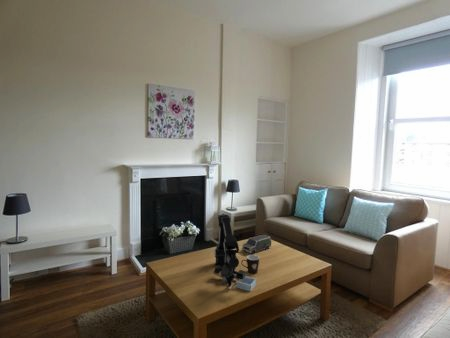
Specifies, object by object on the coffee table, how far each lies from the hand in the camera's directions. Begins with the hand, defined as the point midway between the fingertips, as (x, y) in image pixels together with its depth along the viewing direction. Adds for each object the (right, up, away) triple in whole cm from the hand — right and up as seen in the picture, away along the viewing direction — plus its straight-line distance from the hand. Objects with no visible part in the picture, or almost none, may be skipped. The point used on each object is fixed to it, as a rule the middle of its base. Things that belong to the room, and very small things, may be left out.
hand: (229, 285), depth 162 cm
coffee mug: (+14, 0, +23) cm, 27 cm away
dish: (+10, -2, +4) cm, 11 cm away
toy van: (+23, +3, +62) cm, 66 cm away
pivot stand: (-2, -1, +10) cm, 10 cm away
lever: (-4, 0, +7) cm, 8 cm away
